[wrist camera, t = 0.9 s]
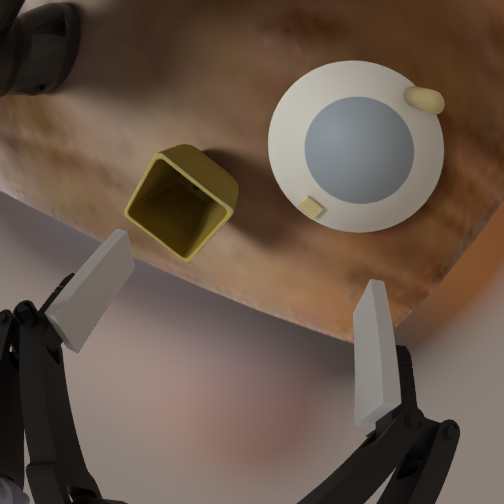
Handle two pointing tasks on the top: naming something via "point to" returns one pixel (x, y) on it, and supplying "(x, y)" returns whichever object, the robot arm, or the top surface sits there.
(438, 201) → the top surface
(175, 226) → the flower pot
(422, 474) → the robot arm
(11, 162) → the top surface
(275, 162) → the disc
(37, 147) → the top surface
